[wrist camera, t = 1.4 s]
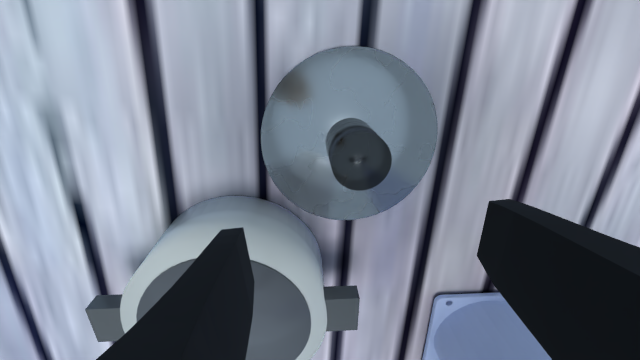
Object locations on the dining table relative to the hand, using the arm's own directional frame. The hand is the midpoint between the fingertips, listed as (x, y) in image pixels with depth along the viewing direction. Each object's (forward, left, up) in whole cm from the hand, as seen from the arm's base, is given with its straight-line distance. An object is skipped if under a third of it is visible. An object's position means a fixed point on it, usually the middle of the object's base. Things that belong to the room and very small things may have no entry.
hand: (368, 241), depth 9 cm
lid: (-1, 0, -10) cm, 10 cm away
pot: (+6, +9, -10) cm, 14 cm away
